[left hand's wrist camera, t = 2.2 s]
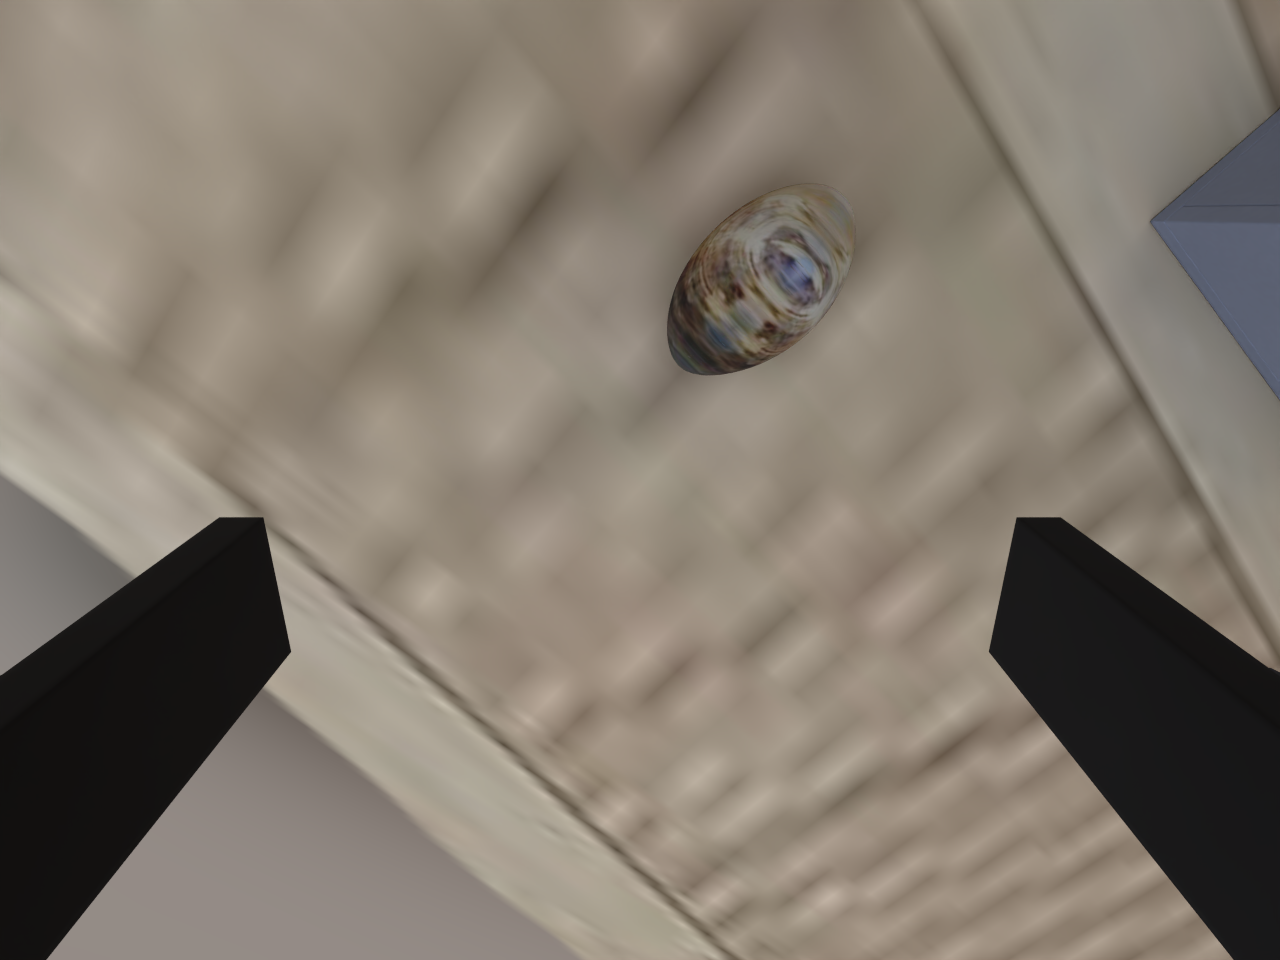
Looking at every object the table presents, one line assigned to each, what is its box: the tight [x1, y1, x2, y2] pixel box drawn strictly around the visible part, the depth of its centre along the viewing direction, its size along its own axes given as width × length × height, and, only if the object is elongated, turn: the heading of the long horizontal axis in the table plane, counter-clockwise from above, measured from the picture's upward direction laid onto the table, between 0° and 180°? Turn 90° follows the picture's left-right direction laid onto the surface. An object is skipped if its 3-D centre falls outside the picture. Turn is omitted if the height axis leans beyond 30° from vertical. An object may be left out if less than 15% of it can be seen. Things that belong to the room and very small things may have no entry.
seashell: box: [667, 184, 856, 375], centre depth 29 cm, size 10×6×8 cm, turn 135°
